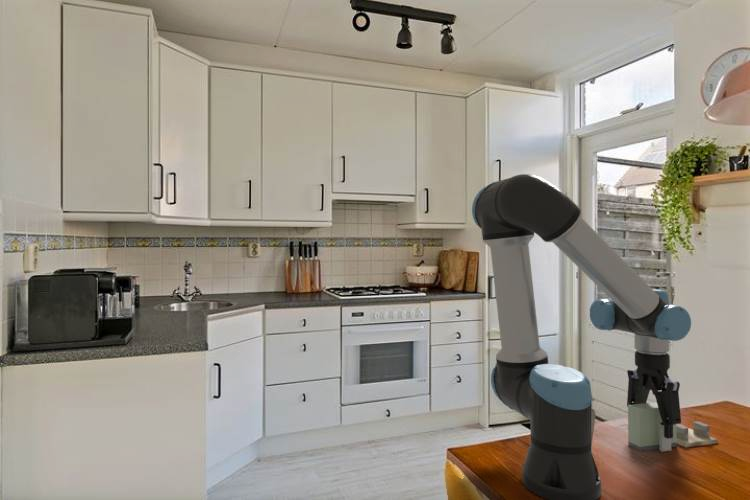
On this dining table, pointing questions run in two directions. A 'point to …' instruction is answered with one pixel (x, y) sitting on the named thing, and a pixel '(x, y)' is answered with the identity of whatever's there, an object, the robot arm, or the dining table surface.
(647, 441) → the door panel
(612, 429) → the dining table surface
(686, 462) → the dining table surface
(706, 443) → the hinge bracket
